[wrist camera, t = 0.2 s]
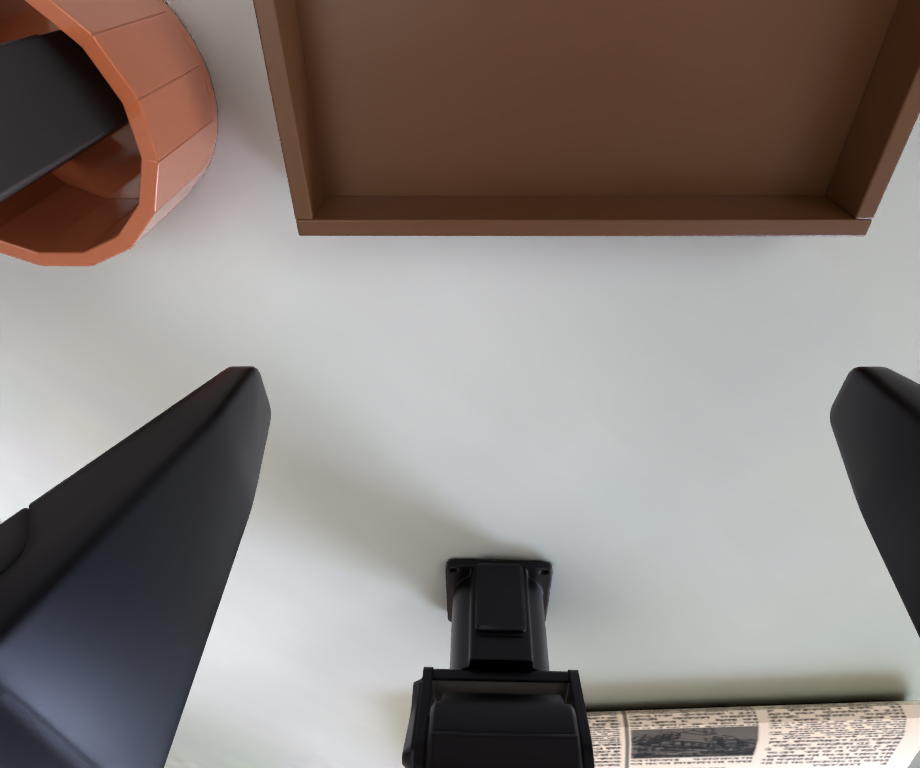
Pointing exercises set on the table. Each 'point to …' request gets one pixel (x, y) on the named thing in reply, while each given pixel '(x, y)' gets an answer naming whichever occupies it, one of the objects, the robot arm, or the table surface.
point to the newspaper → (759, 736)
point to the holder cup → (126, 150)
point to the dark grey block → (50, 107)
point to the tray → (590, 114)
